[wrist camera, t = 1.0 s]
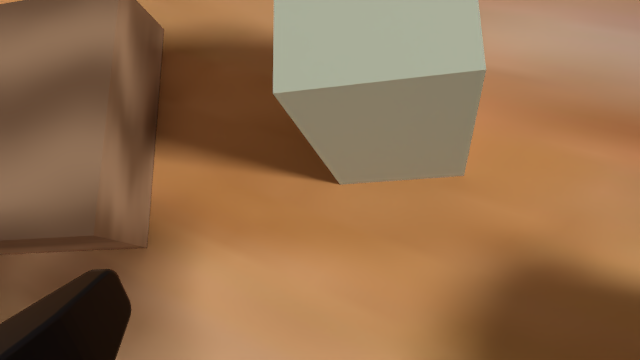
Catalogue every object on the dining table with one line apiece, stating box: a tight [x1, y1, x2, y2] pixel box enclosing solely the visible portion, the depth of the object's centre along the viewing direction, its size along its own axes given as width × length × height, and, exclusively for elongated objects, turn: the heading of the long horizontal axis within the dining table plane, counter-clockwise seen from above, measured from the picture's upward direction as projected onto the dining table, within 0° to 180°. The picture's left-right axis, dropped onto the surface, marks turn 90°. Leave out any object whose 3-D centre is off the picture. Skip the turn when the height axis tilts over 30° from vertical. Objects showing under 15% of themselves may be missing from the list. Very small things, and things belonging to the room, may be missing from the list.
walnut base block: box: [0, 0, 164, 255], centre depth 25 cm, size 12×12×4 cm
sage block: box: [273, 0, 486, 184], centre depth 18 cm, size 6×6×10 cm
